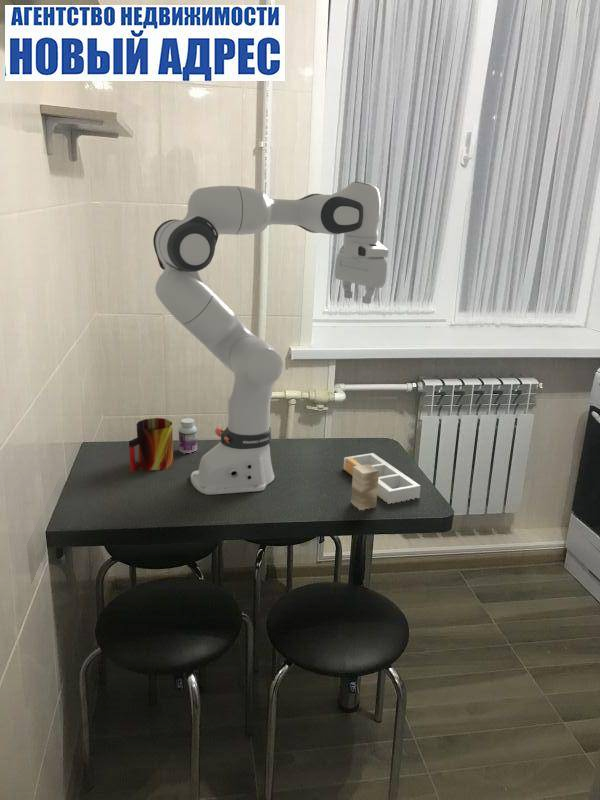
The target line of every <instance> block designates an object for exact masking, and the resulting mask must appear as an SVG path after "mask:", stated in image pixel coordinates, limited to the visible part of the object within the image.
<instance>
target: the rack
mask: <svg viewBox="0 0 600 800" xmlns="http://www.w3.org/2000/svg"><path fill="white" fill-rule="evenodd" d="M366 464H370V465H371V466H373V467H374V468H376V469H377V470H378V471H379V477H378V490H377V497H378V498H380V499H381V500H382V499H383V500H382V501H384V502H385V503H386V502H387V503H386V504H388V505H391V503H392V504H395V503H396V502H397V503H402V502H406V500H407V501H411V500H410V499H412V500H416V499H415V498H417V499H420V497H421V484H419V483H417V482H416V481H415V480H414V479H412V478H410V477H409V476H407V475H405V474H404V473H403V472H402V471H400V470H398V469H397V468H396V467H394V466H393V465H391V464H390V463H388V462H387V461H385V460H384V459H383V458H381V457H379V455H377V454H376V453H374V452H371V453H364V454H358V455H351V456H346V457H344V458H343V470H344V471H346V472H347V473H348V474H350V476H352V477H353V466H360V465H366ZM401 501H402V502H401Z"/></svg>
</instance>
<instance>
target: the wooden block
mask: <svg viewBox="0 0 600 800" xmlns="http://www.w3.org/2000/svg"><path fill="white" fill-rule="evenodd" d="M378 477H379V471H378V470H377V469H376V468H374V467H373V466H371V465H370V464H366V465H360V466H353V476H352V479H351V497H350V498H351V499H350V504H351V503H352V504H351V505H353V506H354V507H355V508H356V507H357V508H358V509H359V511H360V510H362V511H366V510H365V509H368V510H371V509H370V508H373V509H376V508H377V500H378V499H377V498H378V496H377V490H378ZM375 507H376V508H375ZM357 508H356V509H357ZM358 509H357V510H358Z"/></svg>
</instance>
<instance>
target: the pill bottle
mask: <svg viewBox="0 0 600 800" xmlns="http://www.w3.org/2000/svg"><path fill="white" fill-rule="evenodd" d="M178 448H179V449H178V450H179V452H180V451H181V452H183V453H182V454H185V453H190V454H192V453H191V452H194V451H196V450H198V429H197V427H196V425H195V419H193V418H190V417H189V418H182V419H181V420H180V426H179V427H178ZM181 452H180V453H181ZM196 452H197V451H196ZM194 453H195V452H194Z"/></svg>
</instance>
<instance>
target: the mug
mask: <svg viewBox="0 0 600 800" xmlns="http://www.w3.org/2000/svg"><path fill="white" fill-rule="evenodd" d="M173 440H174V439H173V422H172V420H170V419H168V418H161V417H151V418H144V419H141V420H139V421H137V422H136V437H134V438H133V439H130V440H129V441H128V448H129V471H130V472H131V473H135V472H137V471H138V470H140V469H142V468H143V469H142V470H144V469H146V470H145V471H151V470H157V471H161V470H160V469H163V470H166V469H165V468H167V469H169V468H170V467H169V466H171V465H172V464H173V465H174V446H173V445H174V443H173V442H174V441H173ZM135 446H137V461H138V462H136V451H135V449H136V448H135ZM173 465H172V466H173ZM172 466H171V467H172ZM168 467H169V468H168Z"/></svg>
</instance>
